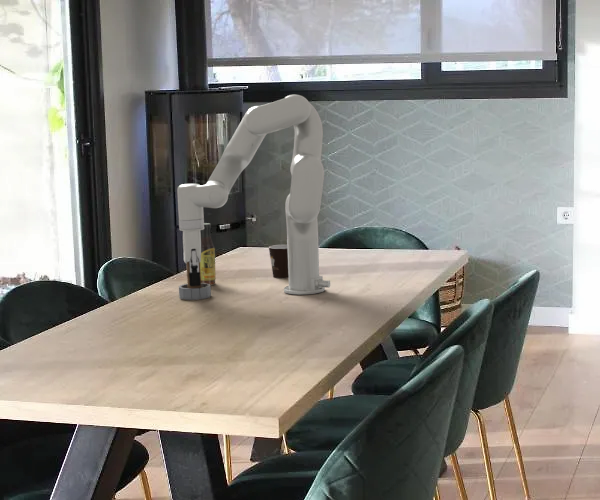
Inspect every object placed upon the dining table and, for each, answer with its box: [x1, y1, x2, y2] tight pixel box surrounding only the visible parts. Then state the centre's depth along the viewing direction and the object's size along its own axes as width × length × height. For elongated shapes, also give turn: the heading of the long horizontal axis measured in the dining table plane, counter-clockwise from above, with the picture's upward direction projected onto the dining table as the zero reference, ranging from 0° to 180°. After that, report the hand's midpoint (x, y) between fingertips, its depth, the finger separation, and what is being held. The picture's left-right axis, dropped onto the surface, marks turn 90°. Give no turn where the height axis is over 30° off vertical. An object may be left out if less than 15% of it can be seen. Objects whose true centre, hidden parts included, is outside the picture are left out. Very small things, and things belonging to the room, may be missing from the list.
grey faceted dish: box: [178, 283, 212, 301], centre depth 341 cm, size 10×10×3 cm
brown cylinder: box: [185, 258, 201, 288], centre depth 340 cm, size 4×4×10 cm
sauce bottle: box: [200, 222, 216, 286], centre depth 360 cm, size 6×6×20 cm
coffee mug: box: [268, 244, 289, 279], centre depth 372 cm, size 12×9×10 cm
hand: (194, 283), depth 341 cm, fingers closed on brown cylinder, 4 cm apart
